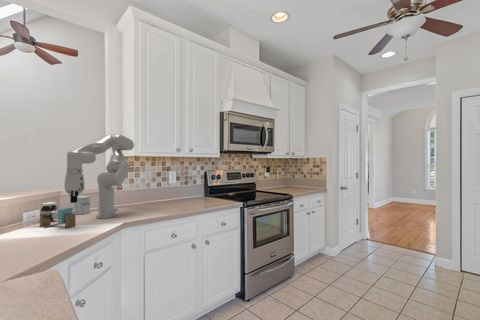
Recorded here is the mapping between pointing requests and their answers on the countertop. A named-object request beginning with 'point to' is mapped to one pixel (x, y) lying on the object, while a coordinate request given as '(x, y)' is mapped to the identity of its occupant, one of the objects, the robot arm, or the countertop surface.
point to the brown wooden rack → (46, 218)
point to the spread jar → (49, 208)
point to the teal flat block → (63, 214)
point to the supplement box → (82, 205)
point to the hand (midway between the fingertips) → (73, 202)
